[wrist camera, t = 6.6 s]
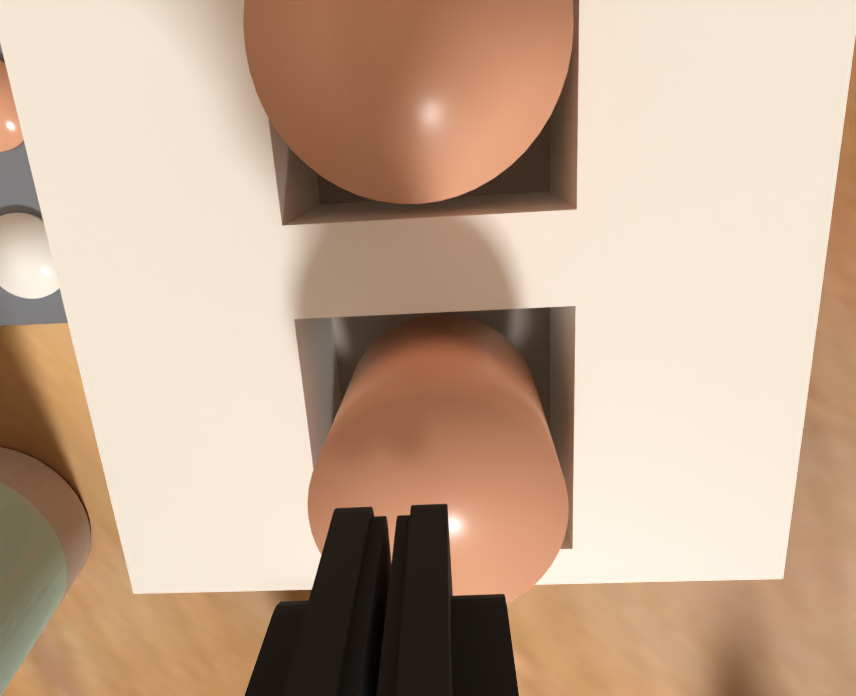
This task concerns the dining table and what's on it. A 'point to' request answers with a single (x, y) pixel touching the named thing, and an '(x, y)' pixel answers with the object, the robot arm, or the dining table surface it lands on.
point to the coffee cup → (34, 552)
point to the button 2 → (408, 87)
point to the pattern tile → (22, 230)
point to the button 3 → (449, 451)
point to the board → (444, 278)
